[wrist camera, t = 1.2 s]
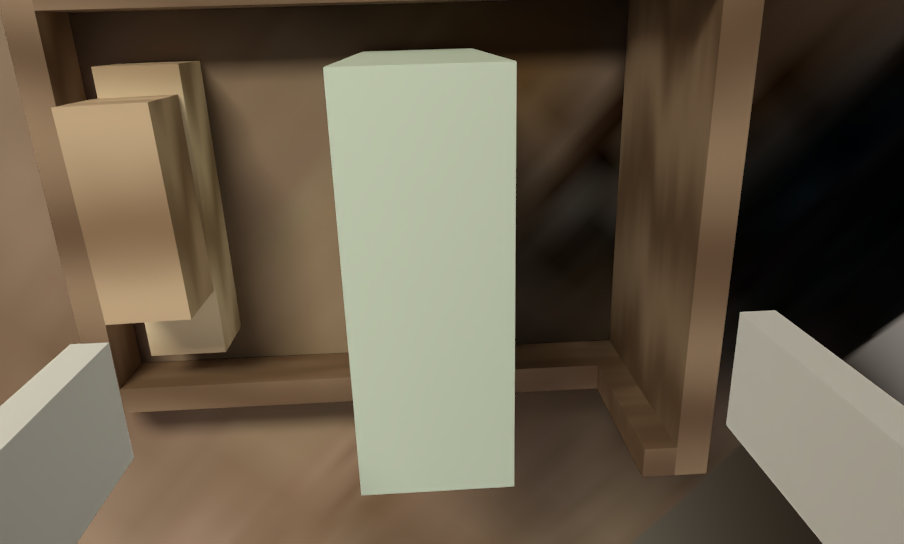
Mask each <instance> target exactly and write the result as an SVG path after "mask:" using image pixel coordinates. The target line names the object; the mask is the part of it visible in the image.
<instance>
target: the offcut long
mask: <svg viewBox="0 0 904 544" xmlns="http://www.w3.org/2000/svg"><path fill="white" fill-rule="evenodd" d="M91 69H92V74H93V79H94V83H95V88H96V93H97V98H98V99H103V98H121V97H140V96H158V95H176V94H178V99H179V105H180V110H181V115H182V121H183V126H184V132H185V137H186V142H187V148H188V153H189V159H190V164H191V169H192V175H193V180H194V186H195V191H196V196H197V202H198V207H199V213H200V218H201V223H202V229H203V234H204V240H205V245H206V250H207V256H208V261H209V267H210V272H211V277H212V283H213V288H214V291H213V292H212V293H211V295H210V296H209V297H208V299H207V300H206V301H205V302H204V304H203V305H202V306H201V307H200V309H199V310H198V311H197V313H196V314H195V315H194V316H193V318H192V319H190V320H174V321H159V322H144V323H145V327H146V332H147V337H148V342H149V347H150V351H151V356H160V355H179V354H198V353H217V352H226V351H227V350H228V348H229V346H230V345H231V343H232V341H233V339H234V338H235V336H236V334H237V333H238V331H239V329H240V328H241V322H240V316H239V309H238V303H237V297H236V290H235V284H234V277H233V271H232V264H231V258H230V252H229V245H228V239H227V232H226V226H225V220H224V213H223V207H222V200H221V194H220V187H219V181H218V175H217V168H216V162H215V155H214V149H213V142H212V136H211V130H210V123H209V117H208V110H207V104H206V97H205V91H204V85H203V78H202V72H201V65H200V61H180V62H153V63H126V64H113V65H103V66H94V67H91Z"/></svg>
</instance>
